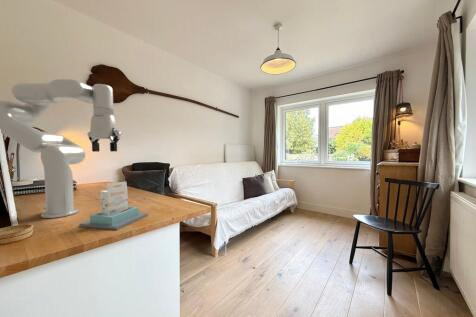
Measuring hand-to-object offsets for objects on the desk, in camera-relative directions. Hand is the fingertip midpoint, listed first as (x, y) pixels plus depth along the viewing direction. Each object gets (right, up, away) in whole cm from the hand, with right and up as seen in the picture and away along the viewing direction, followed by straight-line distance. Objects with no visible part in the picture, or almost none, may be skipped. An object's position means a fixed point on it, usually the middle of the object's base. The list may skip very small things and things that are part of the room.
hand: (104, 151), depth 92 cm
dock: (+10, -29, -9) cm, 32 cm away
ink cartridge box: (+10, -28, -8) cm, 31 cm away
